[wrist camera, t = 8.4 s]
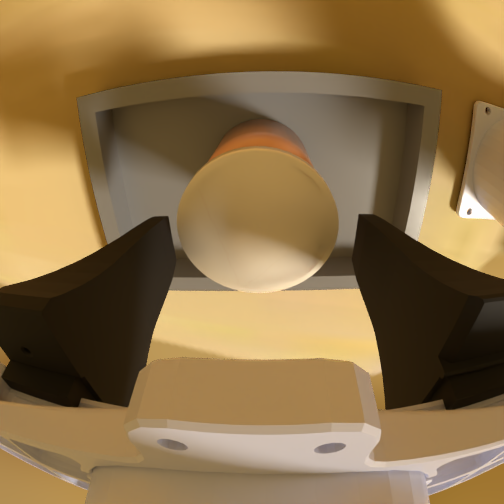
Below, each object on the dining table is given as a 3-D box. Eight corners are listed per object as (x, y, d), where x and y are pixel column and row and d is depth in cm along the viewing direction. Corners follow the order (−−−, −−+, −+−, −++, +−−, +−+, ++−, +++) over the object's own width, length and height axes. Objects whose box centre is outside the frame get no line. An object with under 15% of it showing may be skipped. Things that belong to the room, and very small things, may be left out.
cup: (312, 115, 14) (344, 151, 9) (310, 209, 17) (330, 291, 12) (205, 118, 15) (164, 156, 9) (215, 211, 18) (190, 292, 12)
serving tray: (419, 85, 13) (441, 90, 11) (392, 263, 20) (404, 286, 18) (99, 92, 14) (76, 97, 12) (134, 266, 21) (122, 289, 19)
